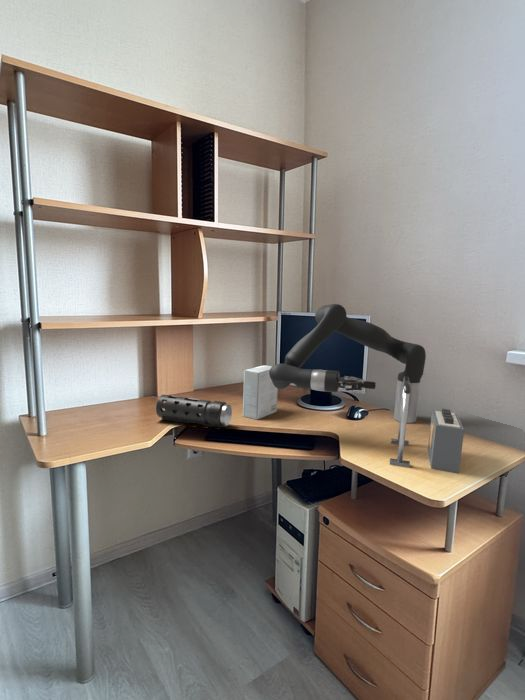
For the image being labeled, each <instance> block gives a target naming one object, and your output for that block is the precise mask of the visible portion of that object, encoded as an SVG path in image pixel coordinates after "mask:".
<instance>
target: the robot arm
mask: <svg viewBox="0 0 525 700" xmlns="http://www.w3.org/2000/svg"><path fill="white" fill-rule="evenodd" d="M314 315H315V316H314V317H315V321H316V323H317V325H316V326H315V327H314V328H313V329H312V330H311V331H310V332H308V333H307V334H306V335H304V336H303V337H302V338H300V340H299V341H297V342H296V343H295V344H294V345H293V347H292V348H291V349H290V350H288V352H287V353H286V355H285V357H284V363H277V364H276V363H275V364H274V365H271V366H272V367H271V368H270V371H269V375H270V378H271V380H272V382H273V385H274V386H275V387H276V388H278V389H279V390H283V389H287V388H288V387H289V386H290V385H291V384H293V385H294V386H296V387H297V388H299V389H303V390H304V389H306V390H314V391H319V392H326V393H338V391H339V388H340V389H341V388H342V389H343V390H345V391H361V390H363V389H369V390H375V389H376V385H377V384H376V382H375V381H371V380H364V379H363V378H361V377H356V376H353V375H350V376H347V375H344V376H343V377H341V375H340V371H339V370H328V369H326V370H324V369H309V368H308V369H307V368H301V367H303V365H304V364H305V363H306V362H307V361H308V360H309V358H310V357H311V356H312V354H313V353H314V352H315V351H316V350H317V349H318V348H319V346H321V344H322V343H324V342H325V340H327V339H328V338H329V337H330V336H331V335H332V334H333V333H334V332H335V333H338V334H341V335H343V336H345V337H346V338H348V339H351V340H352V341H355V342H357V343H359V344H361V345H363V346H365V347H367V348H368V349H371V350H375V351H377V352H381V353H384V354H386V355H388V356H390V357H392V358H393V359H395V360H396V361H398V362H399V363H401V364H404V365H405V368H404V370H403V371H401V372H399V373H398V374H397V380H396V381H397V382H396V391H395V401H394V410H393V411H394V413H393V419H394V421H396V422H400V412H401V402H402V392H403V378H404V377H405V376H408V377H409V382H410V394H409V403H408V413H407V423H406V424H412V423H417V417H418V416H417V414H418V408H419V407H418V406H419V395H420V390H421V389H420V388H421V379H422V377H423V375H424V372H425V371H424V370H425V365H426V364H425V363H426V357H427V353H426V349H425V347H424V346H422V345H420V344H417V343H411V342H407V341H404V340H400V339H398V338H394V336H392V335H390V334H389V333H388V332H387V330H385V329H383V328H382V327H380V326H379V325H378V326H377V325H375V324H373V323H371V322H368V321H365V320H360V319H355V318H351V317H348V316H347V311H346V308H345V307H344V306H343V305H341V304H339V303H331V304H325V305H322V306H321V307H319V308H317V310H316V312H315V314H314Z"/></svg>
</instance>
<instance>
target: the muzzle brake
mask: <svg viewBox="0 0 525 700" xmlns="http://www.w3.org/2000/svg"><path fill="white" fill-rule="evenodd" d="M155 413H156V415H157V417H159V418H161V420H164V421H170V422H177V423H183V424H184V423H187V424H191V423H193V424H198V425H199V424H200V425H202V426H203V427H206V428H213V427H217V428H222V427H228V426H229V425H230V423H231V420H232V415H233V410H232V405H231V404H230V403H227V402H226V401H220V400H214V401H211V400H206V399H200V398H193V397H186V396H185V397H184V396H175V395H169V394H161V395H160V396H159V397H158V399H157V401H156V406H155Z"/></svg>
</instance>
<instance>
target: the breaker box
mask: <svg viewBox="0 0 525 700" xmlns="http://www.w3.org/2000/svg"><path fill="white" fill-rule="evenodd" d="M432 422H433V424H434V432H433V440H432V448H431V447H430V433H431V424H432ZM428 434H429V435H428V442H427V443H428V445H427V451H428V453H427V454H428V457H429V463H430V465H429V466H430V469H432V470H438V471H443V472H444V471H445V472H450V473H456V474H459V473H460V468H461V467H460V465H461V459H462V458H461V457H462V451H463V443H464V436H465V435H464V434H465V428H464V426H463V423H462V421H461V420H460V418H459V416H458V413H456V412H451V409H448V408H442V409H441V411H440V410H439V411H438V410H432V411H431V417H430V426H429V433H428Z"/></svg>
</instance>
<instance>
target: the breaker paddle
mask: <svg viewBox="0 0 525 700" xmlns="http://www.w3.org/2000/svg"><path fill="white" fill-rule="evenodd" d="M430 425H431V433H430V432H429V434H430V447H431V448H432V440H433V432H434V424H433V422H432V424H431V423H430Z"/></svg>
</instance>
